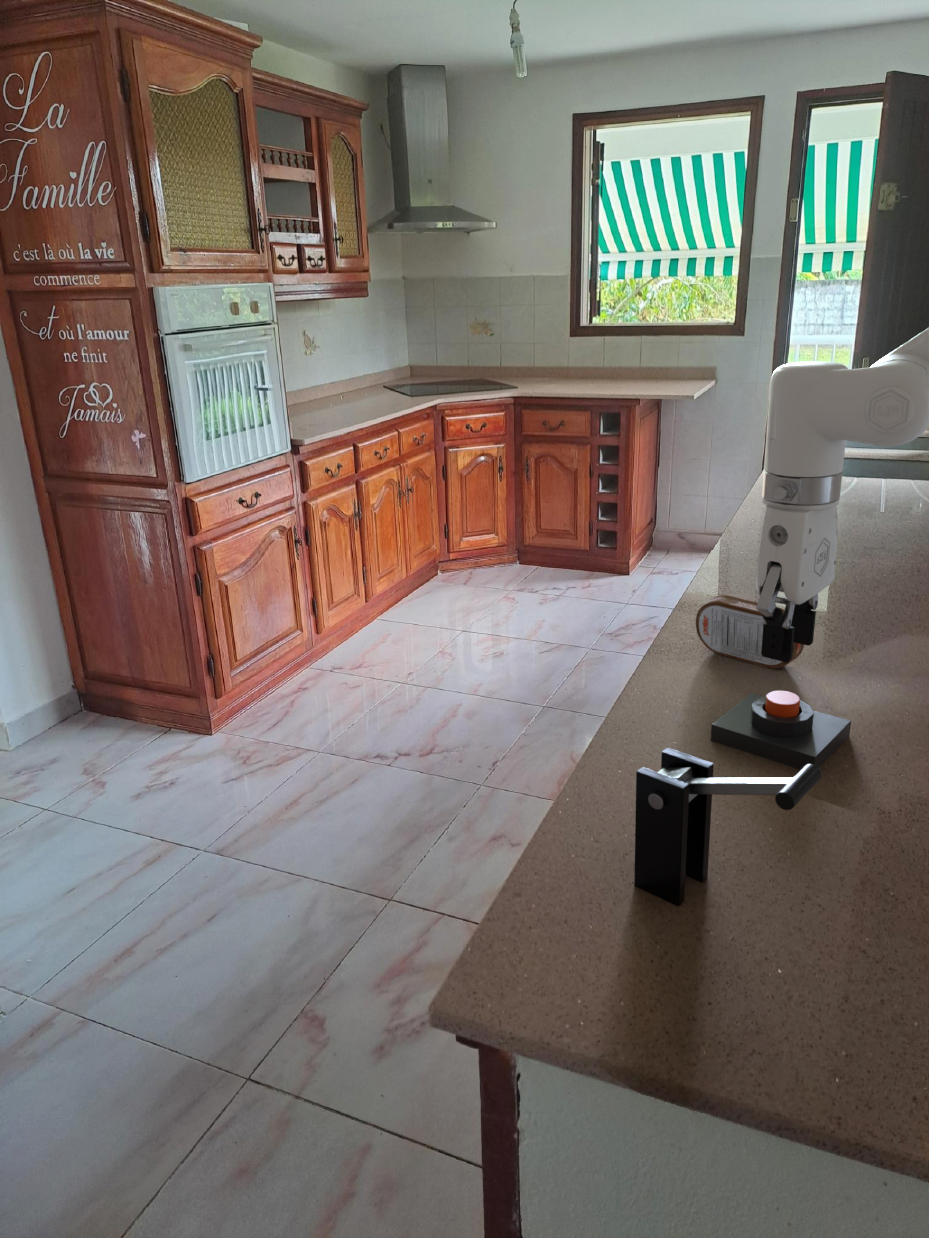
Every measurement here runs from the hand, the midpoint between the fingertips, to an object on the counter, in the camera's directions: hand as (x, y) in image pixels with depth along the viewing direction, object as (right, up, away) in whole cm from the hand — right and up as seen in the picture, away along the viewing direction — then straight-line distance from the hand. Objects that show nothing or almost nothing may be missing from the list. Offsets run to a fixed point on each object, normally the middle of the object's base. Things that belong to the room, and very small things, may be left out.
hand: (787, 648), depth 97 cm
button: (0, -7, +3) cm, 8 cm away
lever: (-14, -11, -27) cm, 32 cm away
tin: (+3, -3, +25) cm, 25 cm away
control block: (+1, -11, +4) cm, 11 cm away
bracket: (-17, -21, -19) cm, 33 cm away
